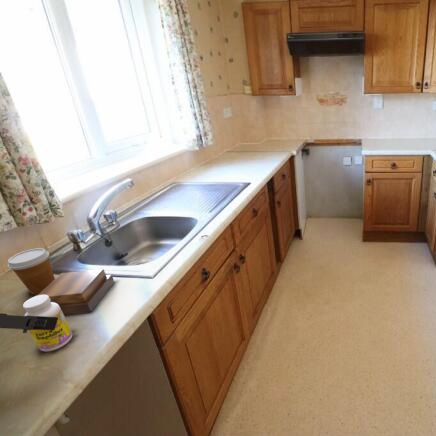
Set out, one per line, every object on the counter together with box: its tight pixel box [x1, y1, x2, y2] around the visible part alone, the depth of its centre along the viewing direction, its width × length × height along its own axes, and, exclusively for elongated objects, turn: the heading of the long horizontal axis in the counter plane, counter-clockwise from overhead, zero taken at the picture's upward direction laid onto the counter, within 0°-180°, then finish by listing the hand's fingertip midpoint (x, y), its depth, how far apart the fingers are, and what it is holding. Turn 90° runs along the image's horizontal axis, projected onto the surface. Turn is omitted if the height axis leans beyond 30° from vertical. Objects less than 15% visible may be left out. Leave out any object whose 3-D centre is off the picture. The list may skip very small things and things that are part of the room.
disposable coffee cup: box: [7, 247, 56, 295], centre depth 98 cm, size 10×10×12 cm
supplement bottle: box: [22, 294, 73, 352], centre depth 77 cm, size 7×7×13 cm
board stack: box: [36, 268, 115, 316], centre depth 94 cm, size 14×14×6 cm
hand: (28, 321), depth 72 cm, fingers open, 13 cm apart
